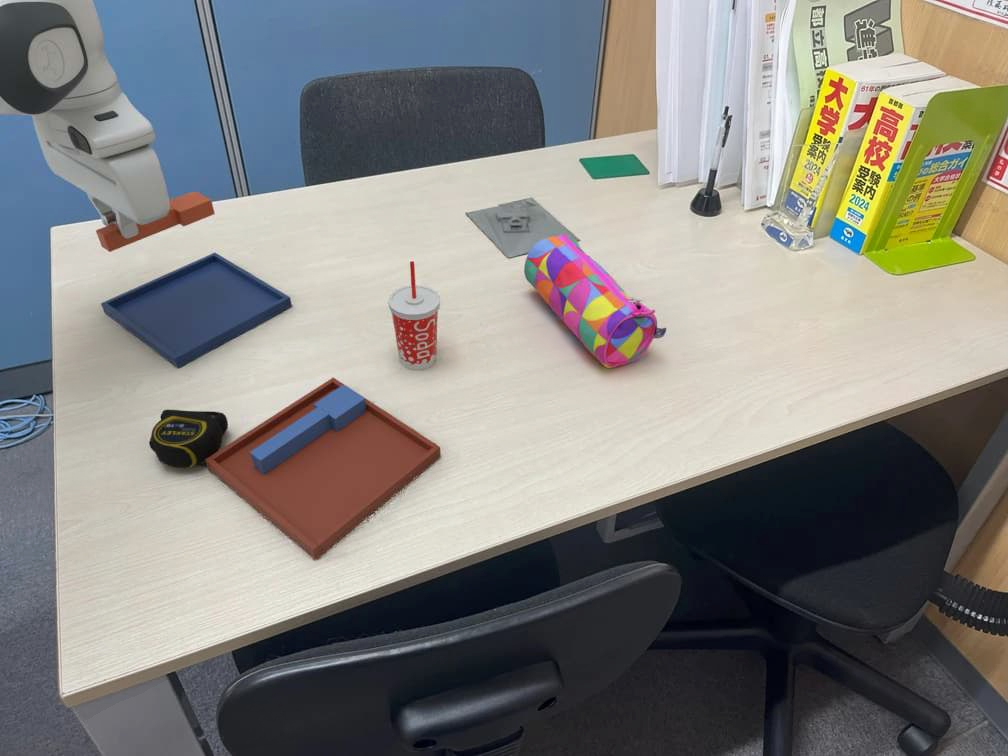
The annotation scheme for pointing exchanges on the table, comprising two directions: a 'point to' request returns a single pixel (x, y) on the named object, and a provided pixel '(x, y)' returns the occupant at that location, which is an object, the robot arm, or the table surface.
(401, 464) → the rust tray
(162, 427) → the tape measure
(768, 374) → the table surface
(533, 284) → the pencil case
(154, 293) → the blue tray
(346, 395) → the blue stepped bar
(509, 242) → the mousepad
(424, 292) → the beverage cup
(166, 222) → the rust stepped bar
